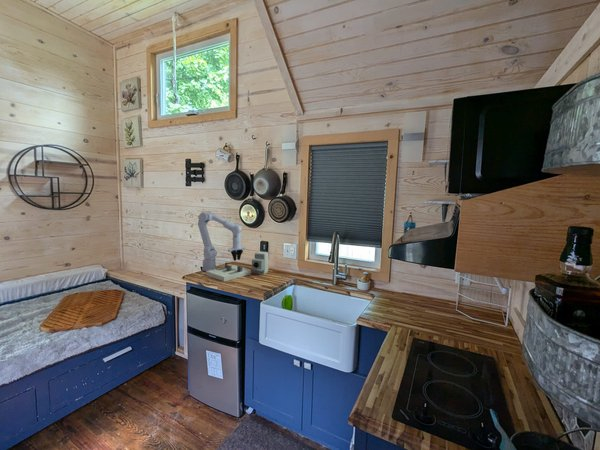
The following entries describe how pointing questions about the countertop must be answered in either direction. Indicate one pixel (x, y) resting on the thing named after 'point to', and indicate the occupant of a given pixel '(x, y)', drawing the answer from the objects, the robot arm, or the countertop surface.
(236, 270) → the breaker panel
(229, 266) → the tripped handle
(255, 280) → the countertop surface
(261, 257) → the circuit breaker
